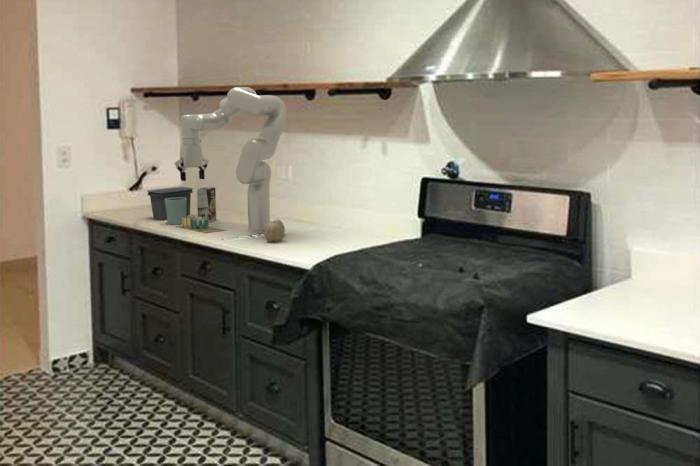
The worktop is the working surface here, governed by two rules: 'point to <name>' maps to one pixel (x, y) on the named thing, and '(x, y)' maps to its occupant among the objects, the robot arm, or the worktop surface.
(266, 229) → the tan rounded piece
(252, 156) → the robot arm
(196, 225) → the gear board
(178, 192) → the storage bin
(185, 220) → the brass gear
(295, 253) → the worktop surface
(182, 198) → the grey green cup
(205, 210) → the coffee box
